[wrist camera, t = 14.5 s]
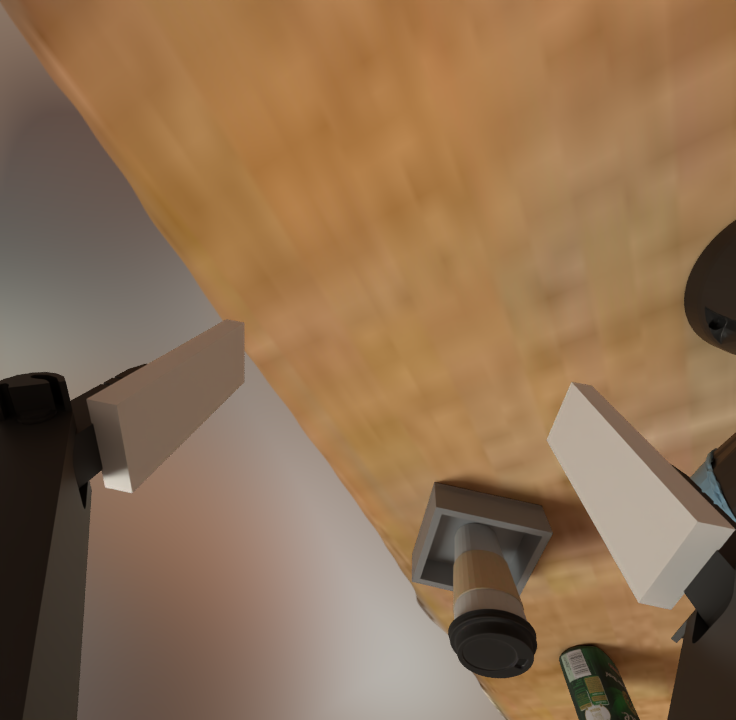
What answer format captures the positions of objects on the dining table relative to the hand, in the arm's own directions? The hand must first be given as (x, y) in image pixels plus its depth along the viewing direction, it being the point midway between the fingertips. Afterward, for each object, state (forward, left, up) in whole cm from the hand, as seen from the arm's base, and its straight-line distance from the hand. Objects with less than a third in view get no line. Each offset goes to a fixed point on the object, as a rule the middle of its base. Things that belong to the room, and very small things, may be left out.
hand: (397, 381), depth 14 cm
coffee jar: (-43, +58, -27) cm, 77 cm away
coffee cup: (-17, +35, -26) cm, 47 cm away
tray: (-17, +35, -27) cm, 47 cm away
